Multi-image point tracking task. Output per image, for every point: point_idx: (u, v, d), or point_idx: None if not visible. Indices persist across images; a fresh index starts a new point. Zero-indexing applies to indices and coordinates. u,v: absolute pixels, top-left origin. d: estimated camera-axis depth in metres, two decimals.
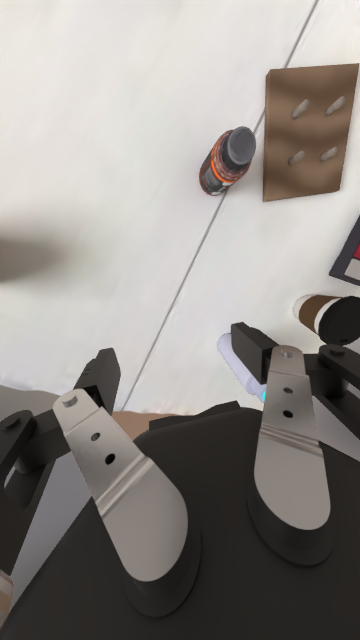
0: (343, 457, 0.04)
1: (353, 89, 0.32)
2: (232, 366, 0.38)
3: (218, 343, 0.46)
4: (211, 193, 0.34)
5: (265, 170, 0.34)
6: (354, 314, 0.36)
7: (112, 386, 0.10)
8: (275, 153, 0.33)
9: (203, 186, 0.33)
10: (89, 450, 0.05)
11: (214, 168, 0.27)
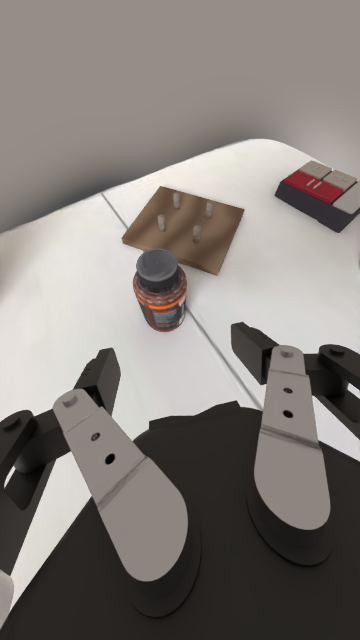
0: (343, 457, 0.04)
1: (173, 190, 0.37)
2: None
3: None
4: (178, 323, 0.25)
5: (189, 263, 0.31)
6: None
7: (113, 386, 0.10)
8: (181, 250, 0.31)
9: (166, 329, 0.25)
10: (89, 450, 0.05)
11: (158, 307, 0.19)
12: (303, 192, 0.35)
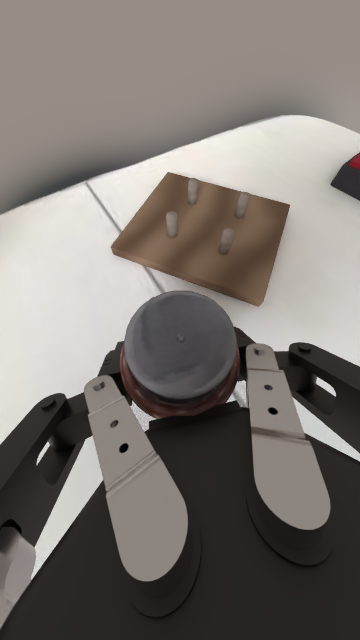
0: (343, 457, 0.04)
1: (186, 178, 0.26)
2: None
3: None
4: None
5: (215, 287, 0.20)
6: None
7: None
8: (202, 267, 0.20)
9: None
10: (107, 435, 0.05)
11: None
12: None
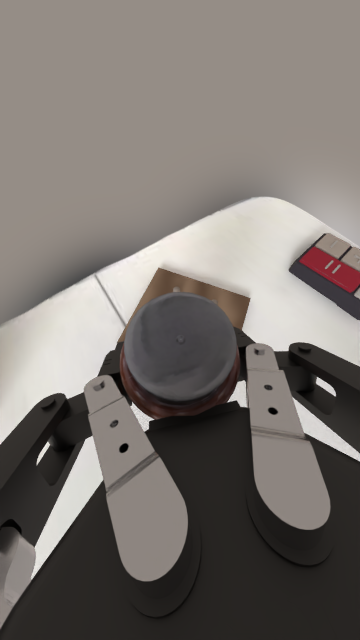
0: (343, 457, 0.04)
1: (172, 274, 0.34)
2: None
3: None
4: None
5: None
6: None
7: None
8: None
9: None
10: (107, 435, 0.05)
11: None
12: (321, 276, 0.32)
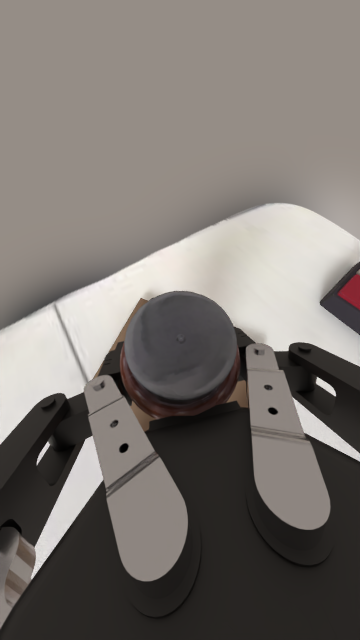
0: (343, 457, 0.04)
1: None
2: None
3: None
4: None
5: None
6: None
7: None
8: None
9: None
10: (107, 435, 0.05)
11: None
12: None
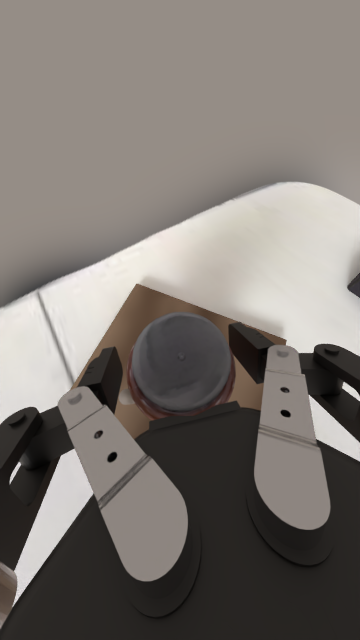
0: (342, 457, 0.04)
1: (158, 294, 0.21)
2: None
3: None
4: None
5: None
6: None
7: (115, 384, 0.10)
8: None
9: None
10: (92, 447, 0.05)
11: None
12: None
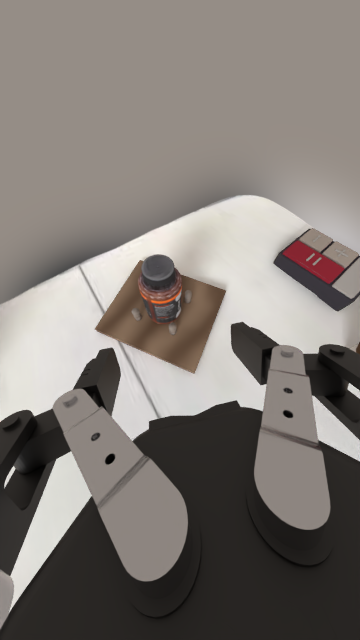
0: (343, 457, 0.04)
1: None
2: None
3: None
4: (176, 317, 0.30)
5: (165, 360, 0.29)
6: None
7: (113, 386, 0.10)
8: (156, 345, 0.29)
9: (165, 321, 0.29)
10: (89, 450, 0.05)
11: (159, 301, 0.23)
12: (302, 267, 0.34)
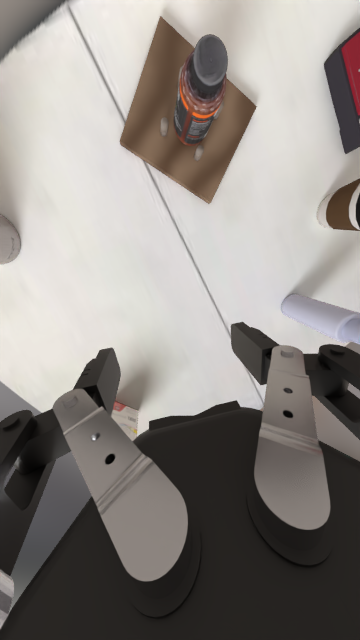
0: (343, 457, 0.04)
1: (178, 37, 0.27)
2: (314, 329, 0.39)
3: (284, 313, 0.47)
4: (203, 138, 0.30)
5: (187, 188, 0.34)
6: None
7: (113, 386, 0.10)
8: (181, 171, 0.33)
9: (193, 142, 0.30)
10: (89, 450, 0.05)
11: (200, 115, 0.24)
12: (348, 83, 0.31)
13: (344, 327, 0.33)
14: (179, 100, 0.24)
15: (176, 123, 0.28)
